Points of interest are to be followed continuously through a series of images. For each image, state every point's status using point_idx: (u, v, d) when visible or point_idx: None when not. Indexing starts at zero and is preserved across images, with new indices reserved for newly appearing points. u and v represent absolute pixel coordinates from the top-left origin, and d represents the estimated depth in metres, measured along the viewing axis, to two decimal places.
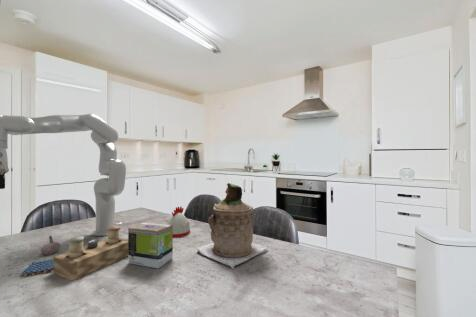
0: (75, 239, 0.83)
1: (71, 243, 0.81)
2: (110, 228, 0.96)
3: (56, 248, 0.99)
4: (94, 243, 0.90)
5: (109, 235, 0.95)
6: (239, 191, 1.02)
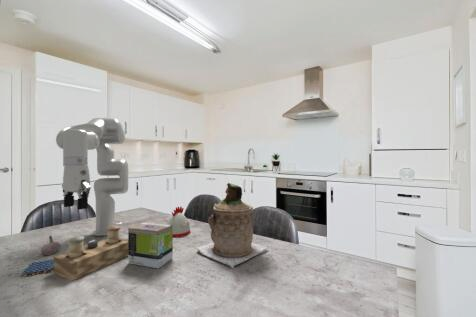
0: (75, 239, 0.83)
1: (71, 243, 0.81)
2: (110, 228, 0.96)
3: (56, 248, 0.99)
4: (94, 243, 0.90)
5: (109, 235, 0.95)
6: (239, 191, 1.03)
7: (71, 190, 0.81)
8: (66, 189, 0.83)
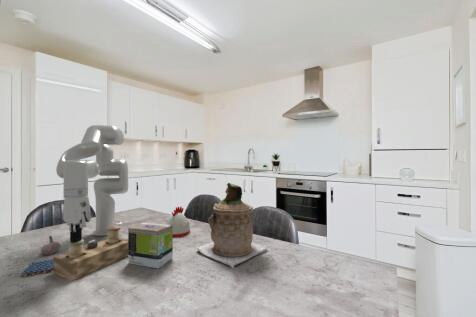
0: None
1: (71, 246, 0.81)
2: (110, 228, 0.96)
3: (56, 248, 0.99)
4: (94, 243, 0.90)
5: (109, 235, 0.95)
6: (239, 191, 1.03)
7: (71, 222, 0.81)
8: (66, 220, 0.82)
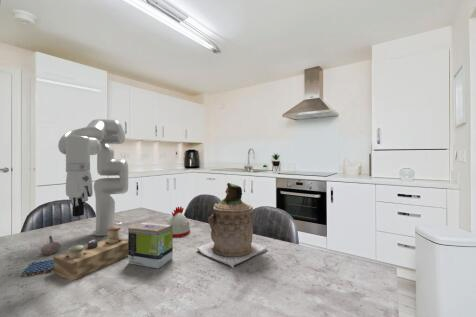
0: (75, 248, 0.83)
1: (71, 252, 0.81)
2: (110, 228, 0.96)
3: (56, 248, 0.99)
4: (94, 243, 0.90)
5: (109, 235, 0.95)
6: (239, 191, 1.03)
7: (74, 196, 0.82)
8: (69, 195, 0.83)
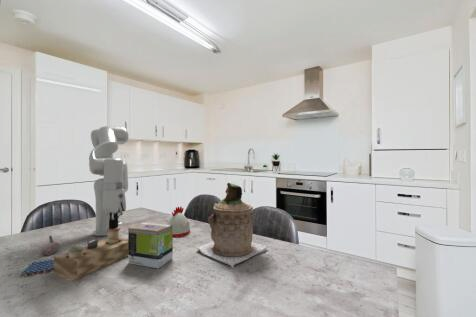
0: (75, 248, 0.83)
1: (71, 252, 0.81)
2: None
3: (56, 248, 0.99)
4: (94, 243, 0.90)
5: (109, 235, 0.95)
6: (239, 191, 1.03)
7: (110, 211, 0.95)
8: (106, 210, 0.96)
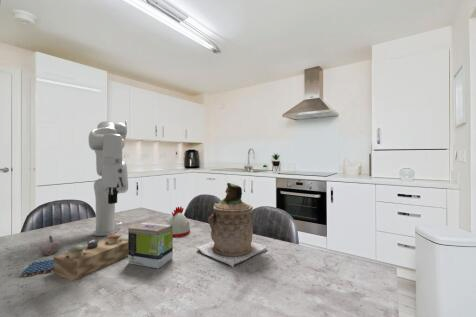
0: (75, 248, 0.83)
1: (71, 252, 0.81)
2: (110, 236, 0.96)
3: (56, 248, 0.99)
4: (94, 243, 0.90)
5: (109, 243, 0.95)
6: (239, 191, 1.04)
7: (110, 186, 0.95)
8: (105, 185, 0.96)
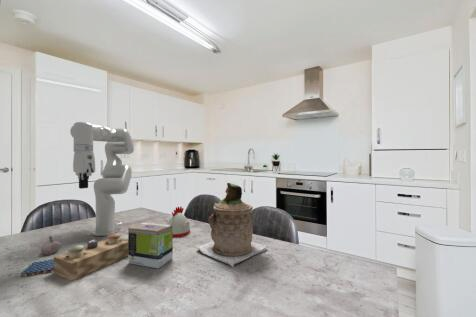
0: (75, 248, 0.83)
1: (71, 252, 0.81)
2: (110, 236, 0.96)
3: (56, 248, 0.99)
4: (94, 243, 0.90)
5: (109, 243, 0.95)
6: (239, 191, 1.04)
7: (80, 171, 1.00)
8: (76, 171, 1.02)
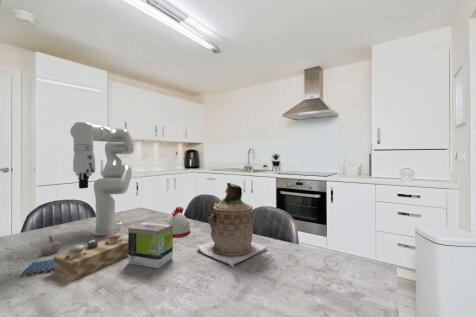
0: (75, 248, 0.83)
1: (71, 252, 0.81)
2: (110, 236, 0.96)
3: (56, 248, 0.99)
4: (94, 243, 0.90)
5: (109, 243, 0.95)
6: (239, 191, 1.04)
7: (80, 171, 1.00)
8: (76, 171, 1.02)
